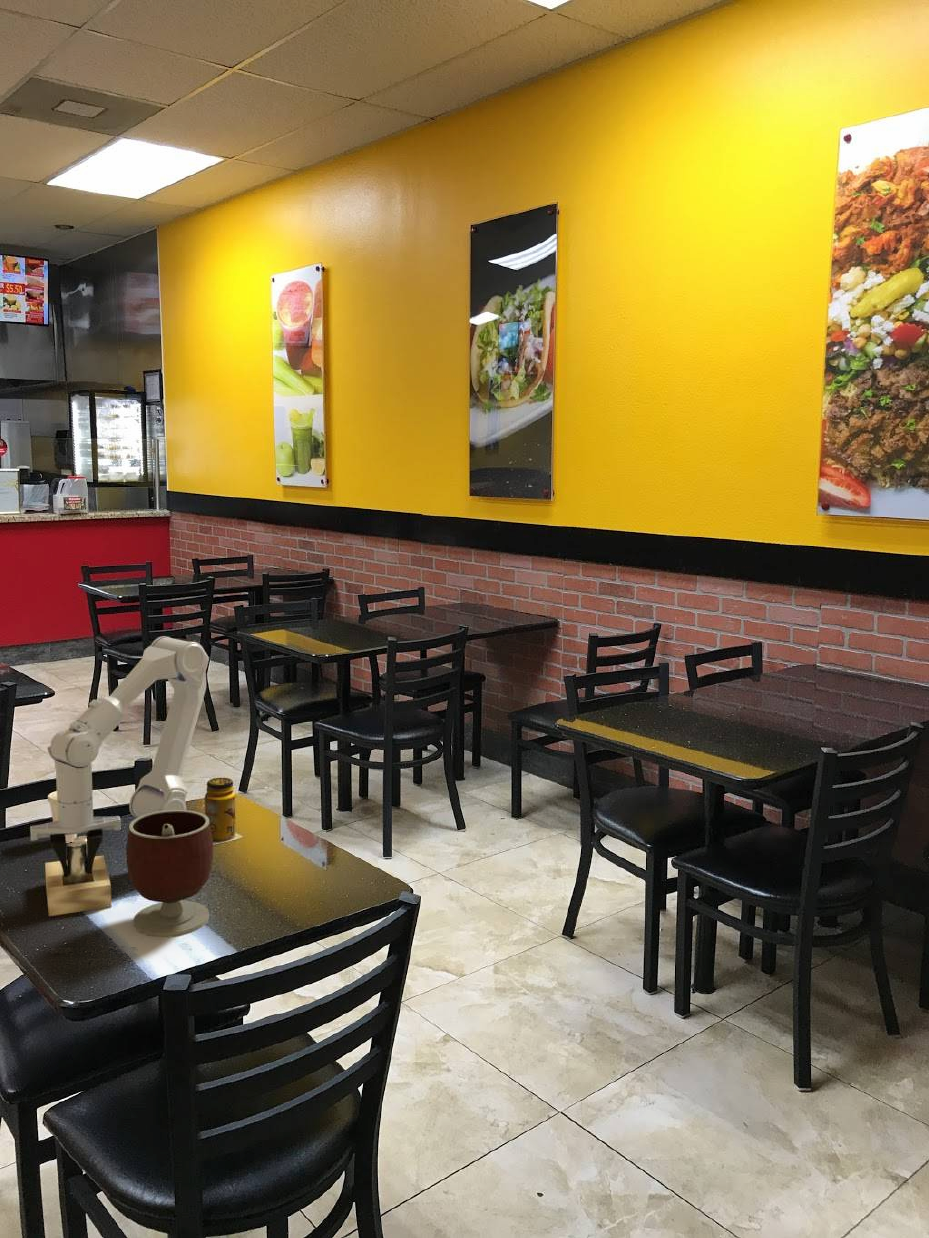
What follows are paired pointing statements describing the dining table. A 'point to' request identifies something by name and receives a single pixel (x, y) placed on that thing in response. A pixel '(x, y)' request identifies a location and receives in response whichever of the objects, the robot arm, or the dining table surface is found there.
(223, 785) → the condiment
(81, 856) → the tall pin
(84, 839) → the short pin
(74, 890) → the pin block
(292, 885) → the dining table surface
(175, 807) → the robot arm
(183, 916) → the mate gourd
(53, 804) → the smoothie
